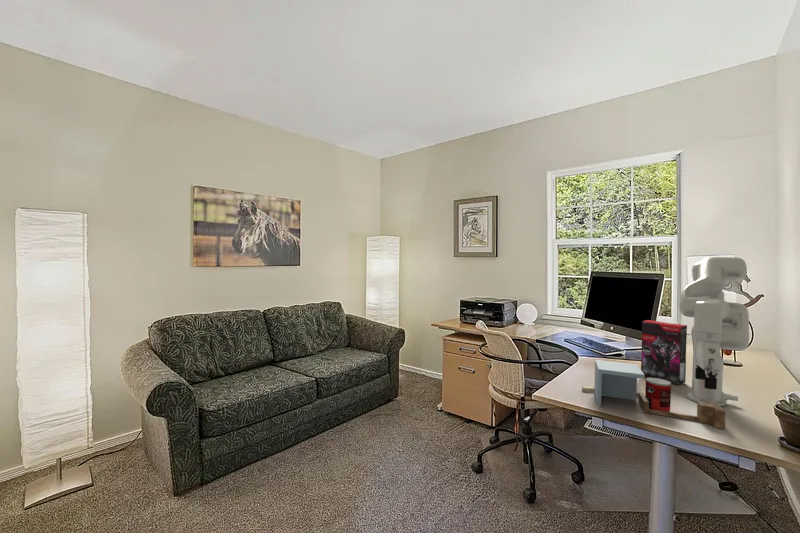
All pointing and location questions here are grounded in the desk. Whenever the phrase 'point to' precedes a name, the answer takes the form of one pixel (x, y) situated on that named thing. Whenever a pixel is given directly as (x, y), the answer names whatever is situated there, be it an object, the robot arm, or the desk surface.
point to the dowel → (587, 389)
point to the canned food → (658, 394)
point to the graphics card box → (664, 351)
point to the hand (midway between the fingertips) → (705, 383)
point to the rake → (705, 414)
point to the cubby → (616, 380)
